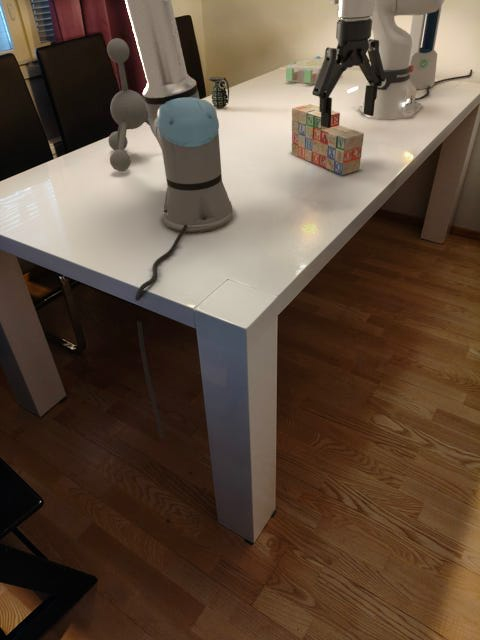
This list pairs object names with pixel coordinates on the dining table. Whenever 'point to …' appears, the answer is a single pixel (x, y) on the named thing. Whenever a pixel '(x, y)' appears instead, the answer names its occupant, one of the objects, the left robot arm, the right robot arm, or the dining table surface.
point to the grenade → (219, 92)
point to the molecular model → (124, 108)
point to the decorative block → (305, 70)
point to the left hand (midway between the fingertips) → (347, 120)
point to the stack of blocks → (325, 140)
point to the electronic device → (424, 49)
